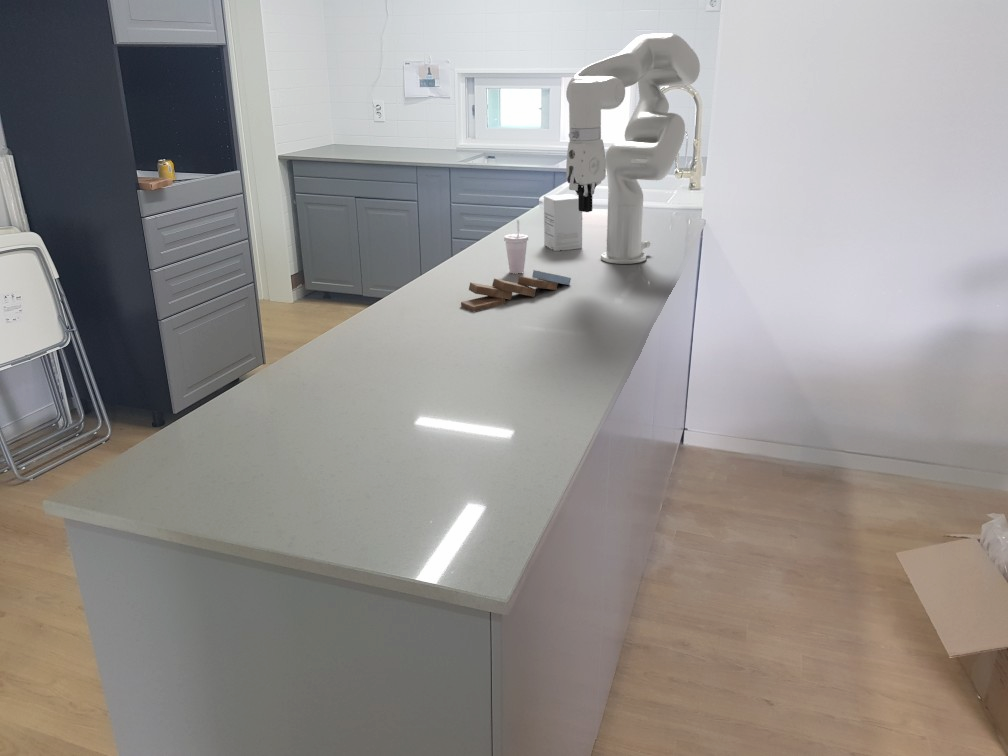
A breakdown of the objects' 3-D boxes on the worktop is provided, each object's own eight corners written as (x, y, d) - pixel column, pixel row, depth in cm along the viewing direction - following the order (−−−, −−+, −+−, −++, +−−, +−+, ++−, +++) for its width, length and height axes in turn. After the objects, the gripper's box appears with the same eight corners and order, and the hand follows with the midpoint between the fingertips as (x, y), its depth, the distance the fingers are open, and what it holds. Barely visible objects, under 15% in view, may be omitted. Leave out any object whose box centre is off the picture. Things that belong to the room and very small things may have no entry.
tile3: (525, 285, 190) (494, 278, 185) (536, 289, 186) (503, 282, 181) (523, 292, 190) (492, 285, 185) (534, 296, 186) (501, 290, 181)
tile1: (555, 274, 198) (533, 270, 192) (571, 277, 195) (549, 273, 188) (554, 281, 199) (532, 277, 192) (569, 285, 195) (547, 280, 189)
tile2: (542, 279, 195) (519, 276, 188) (557, 282, 191) (534, 279, 185) (541, 286, 195) (517, 283, 188) (556, 290, 192) (533, 287, 185)
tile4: (504, 288, 188) (470, 282, 184) (512, 292, 183) (477, 286, 180) (503, 295, 188) (468, 289, 184) (510, 299, 183) (475, 293, 180)
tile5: (492, 294, 185) (460, 302, 180) (505, 299, 181) (473, 306, 176) (492, 302, 186) (461, 309, 181) (505, 306, 182) (474, 314, 177)
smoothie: (526, 275, 205) (525, 222, 199) (502, 275, 206) (501, 221, 200) (530, 269, 210) (530, 217, 205) (507, 268, 212) (506, 217, 206)
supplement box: (570, 242, 240) (571, 193, 234) (582, 248, 232) (583, 197, 226) (543, 245, 237) (543, 195, 231) (554, 251, 229) (554, 200, 224)
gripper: (576, 140, 181) (576, 218, 188) (617, 131, 190) (616, 207, 197) (552, 137, 186) (553, 214, 193) (593, 130, 195) (593, 203, 202)
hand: (585, 210), depth 195 cm, fingers closed
